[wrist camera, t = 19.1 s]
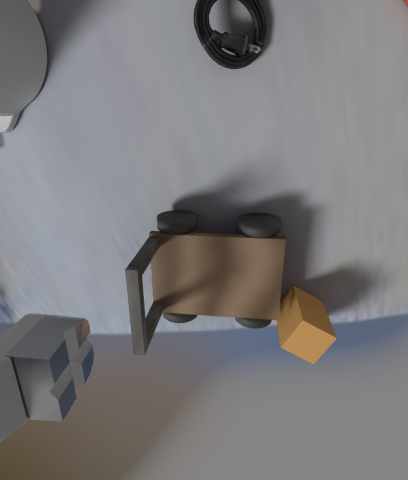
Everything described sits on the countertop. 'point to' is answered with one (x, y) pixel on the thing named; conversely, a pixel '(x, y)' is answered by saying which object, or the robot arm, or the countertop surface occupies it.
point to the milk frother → (230, 36)
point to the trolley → (207, 273)
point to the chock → (304, 325)
